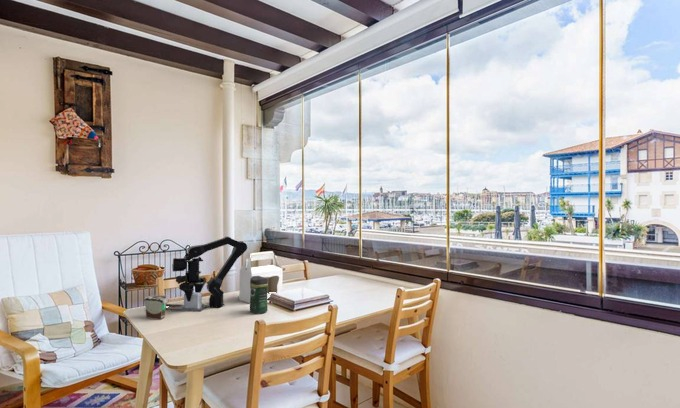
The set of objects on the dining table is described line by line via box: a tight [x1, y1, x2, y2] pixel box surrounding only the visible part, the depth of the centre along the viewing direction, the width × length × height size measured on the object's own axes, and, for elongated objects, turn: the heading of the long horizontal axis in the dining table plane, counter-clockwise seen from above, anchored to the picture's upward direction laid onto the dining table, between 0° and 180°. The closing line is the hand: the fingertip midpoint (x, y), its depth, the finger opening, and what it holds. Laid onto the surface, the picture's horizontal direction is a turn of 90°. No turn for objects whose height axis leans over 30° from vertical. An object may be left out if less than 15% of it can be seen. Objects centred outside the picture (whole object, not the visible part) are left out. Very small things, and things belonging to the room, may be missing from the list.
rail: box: [165, 303, 208, 313], centre depth 195 cm, size 24×8×1 cm, turn 85°
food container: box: [143, 294, 169, 321], centre depth 180 cm, size 12×6×10 cm, turn 71°
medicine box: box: [183, 291, 203, 309], centre depth 194 cm, size 8×4×9 cm, turn 84°
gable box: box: [238, 250, 284, 304], centre depth 219 cm, size 22×13×28 cm, turn 136°
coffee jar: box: [249, 276, 268, 315], centre depth 191 cm, size 10×8×19 cm
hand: (193, 299), depth 194 cm, fingers open, 9 cm apart
